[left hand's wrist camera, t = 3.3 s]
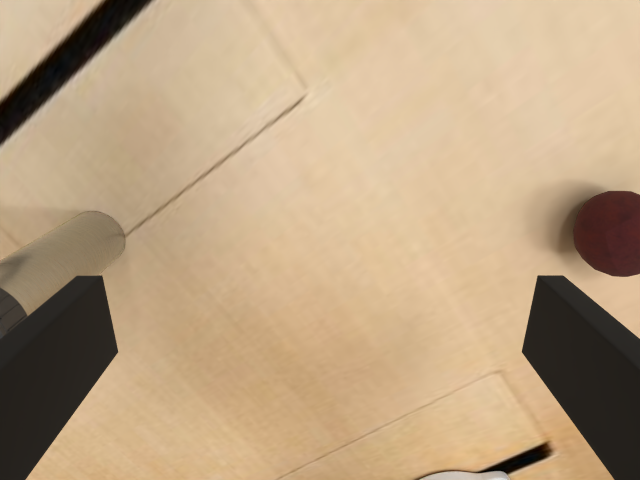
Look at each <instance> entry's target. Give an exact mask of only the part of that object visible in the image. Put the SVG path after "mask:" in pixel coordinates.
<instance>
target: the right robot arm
mask: <svg viewBox="0 0 640 480" xmlns="http://www.w3.org/2000/svg"><path fill="white" fill-rule="evenodd" d="M419 480H510V478H509V477H508V475H507V474H506V473H505V472H502V471H493V472H486V473H469V472H461V471H449V472H441V473H436V474H432V475H429V476H426V477H424V478H421V479H419Z"/></svg>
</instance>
